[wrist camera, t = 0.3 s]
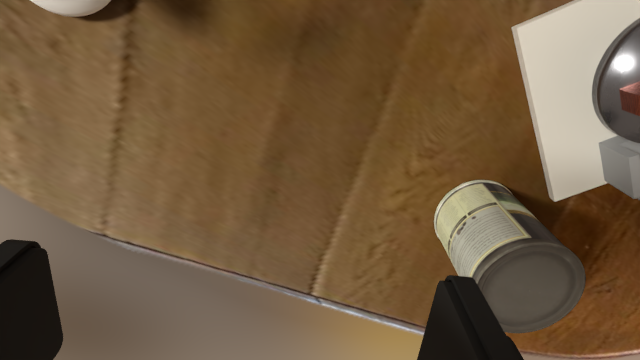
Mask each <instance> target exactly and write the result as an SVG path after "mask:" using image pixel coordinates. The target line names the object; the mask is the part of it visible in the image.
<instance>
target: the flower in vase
mask: <svg viewBox="0 0 640 360" xmlns="http://www.w3.org/2000/svg"><path fill="white" fill-rule="evenodd" d="M31 1H32V2H34V3H35V4H37V5H38V6H40V7H42V8H44V9H46V10H47V11H50V12H53V13H55V14H59V15H63V16H70V17H80V16H86V15H90V14H93V13H95V12H97V11H99V10H101V9H102V8H104V7H105V6H106V5H107V4H108V3H109V2H110V1H111V0H31Z"/></svg>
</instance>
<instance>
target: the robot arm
mask: <svg viewBox="0 0 640 360" xmlns="http://www.w3.org/2000/svg"><path fill="white" fill-rule="evenodd" d="M62 342H63V333H62V327H61V322H60V317H59V312H58V306H57V301H56V296H55V291H54V286H53V280H52V275H51V270H50V265H49V260H48V255H47V252H46V250H45V249H42V248H41V247H40V245H39V244H38V243H37V242H35V241H23V240H6V241H4V242H3V243H1V244H0V360H53V359H54V357H55V356H56V355H57V353H58V352H59V350H60V348H61V345H62ZM417 360H524V359H523V358H522V356H521V354H520V352H519V351H518V349H517V347H516V345H515V344H514V342H513V341H512V340H511V338H509V337H508V336H506V334H505V333H504V331H503V329H502V327H501V325H500V324H499V322H498V320H497V318H496V317H495V315H494V313H493V311H492V310H491V308H490V306H489V304H488V302H487V301H486V299H485V297H484V295H483V294H482V292H481V290H480V288H479V287H478V285H477V283H476V281H475V280H474V279H473V278H472V277H465V276H452V275H449V276H447V278H446V279H445V281H439V283H438V285H437V289H436V292H435V296H434V300H433V303H432V307H431V311H430V314H429V318H428V322H427V326H426V329H425V333H424V337H423V340H422V344H421V348H420V351H419V355H418V359H417Z"/></svg>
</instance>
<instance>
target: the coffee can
mask: <svg viewBox="0 0 640 360" xmlns="http://www.w3.org/2000/svg"><path fill="white" fill-rule="evenodd" d="M434 227H435V231H436V234H437V236H438V238H439V239H440V240H441V242H442V244H443V246H444V248H445V250H446V252H447V254H448V256H449V258H450V260H451V262H452V264H453V266H454V267H455V269H456V272H457V274H458V275H459V276H465V277H472V278H473V279H474V280H475V281H476V283H477V285H478V287H479V288H480V290H481V292H482V294H483V295H484V297H485V299H486V301H487V302H488V304H489V306H490V308H491V310H492V311H493V313H494V315H495V317H496V318H497V320H498V322H499V324H500V325H501V327H502V329H503V331H504V332H508V333H526V332H532V331H537V330H540V329H543V328H546V327H548V326H550V325H552V324H554V323H556V322H557V321H559V320H560V319H562V318H563V317H564V316H566V315H567V314H568V313H569V312H570V311H571V310H572V309H573V308H574V307H575V306H576V304H577V303H578V301H579V300H580V298H581V296H582V293H583V291H584V287H585V280H586V276H585V270H584V267H583V265H582V263H581V261H580V260H579V258H578V257H577V256H576V255H575V254H574V253H573V252H572V251H571V250H569V249H568V248H567V247H565V246H564V245H563V244H562V243H561V242H560V241H559V240H558V239H557V238H556V237H555V236H554V235H553V234H552V233H551V232H550V231H549V230H548V229H547V228H546V227H545V226H544V225H543V224H542V223H541V222H540V221H539V220H538V219H537V218H536V217H535V216H534V215H533V214H532V213H531V212H529V211H528V210H527V209H526V208H525V206H524V205H522V204H521V203H520V202H519V201H518V200H517V199H516V198H515V197H514V196H513V194H512V193H511V192H510V191H509V190H508V189H507V188H506V187H505V186H503V185H501V184H500V183H497V182H494V181H489V180H474V181H469V182H466V183H463V184H461V185H459V186H457V187H456V188H454V189H452V190H451V191H450V192H448V193H447V194H446V195H445V197H444V198H443V199H442V200H441V202H440V203H439V205H438V207H437V209H436V212H435V217H434Z"/></svg>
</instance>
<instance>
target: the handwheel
mask: <svg viewBox="0 0 640 360" xmlns="http://www.w3.org/2000/svg"><path fill="white" fill-rule="evenodd" d="M592 103H593V107H594V110H595V113H596V115H597V117H598V119H599V120H600V122H601V123H602V124H603V125H604V126H605V127H606V128H607V129H608V130H610V131H611V132H613V133H615V134H616V135H619V136H621V137H623V138H625V139H627V140H630V141H633V142H636V143H640V18H639V19H637V20H636V21H634V22H633V23H632V24H630V25H629V26H628V27H626V28H625V29H624V30H623V31H622V32H621V33H620V34H619V35H618V36H617V37H616V38H615V39H614V40H613V42H612V43H611V44H610V45H609V47H608V48H607V50H606V51H605V53H604V54H603V56H602V58H601V60H600V62H599V64H598V66H597V69H596V72H595V75H594V79H593V84H592Z"/></svg>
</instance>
